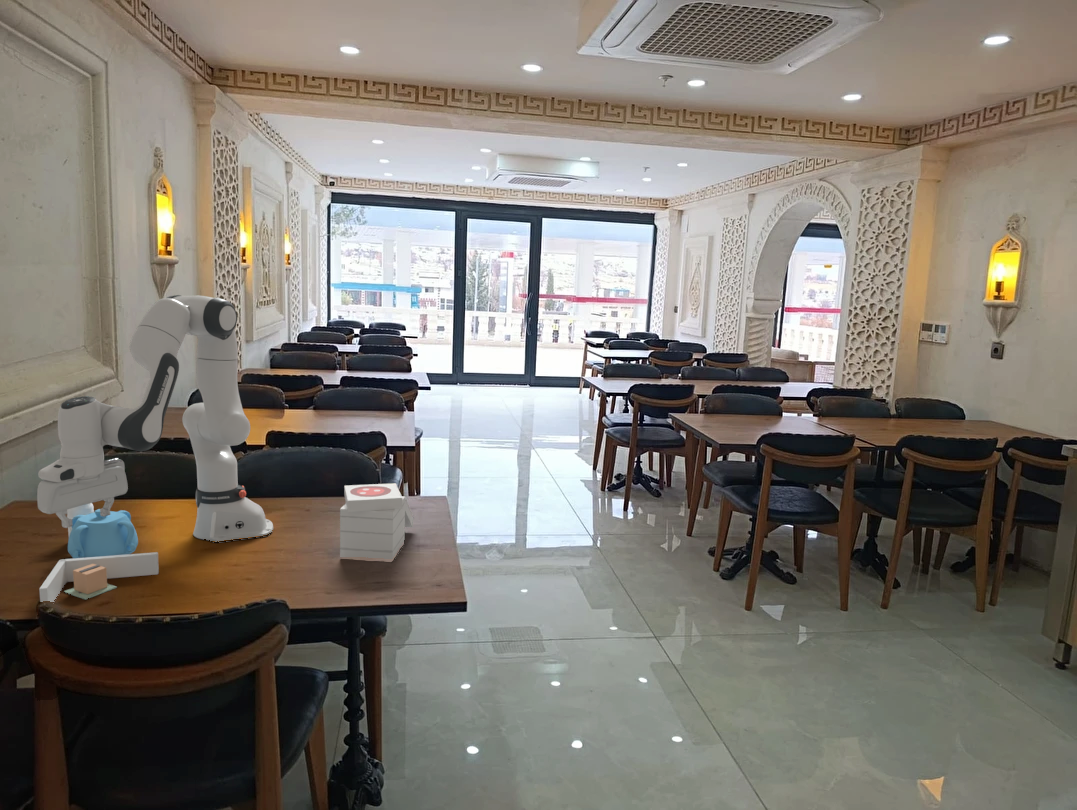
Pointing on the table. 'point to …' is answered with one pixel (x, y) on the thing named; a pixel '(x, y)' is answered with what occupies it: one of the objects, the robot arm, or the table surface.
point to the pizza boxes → (373, 521)
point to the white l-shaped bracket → (113, 564)
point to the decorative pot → (102, 535)
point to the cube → (90, 578)
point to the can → (79, 512)
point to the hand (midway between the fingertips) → (86, 521)
